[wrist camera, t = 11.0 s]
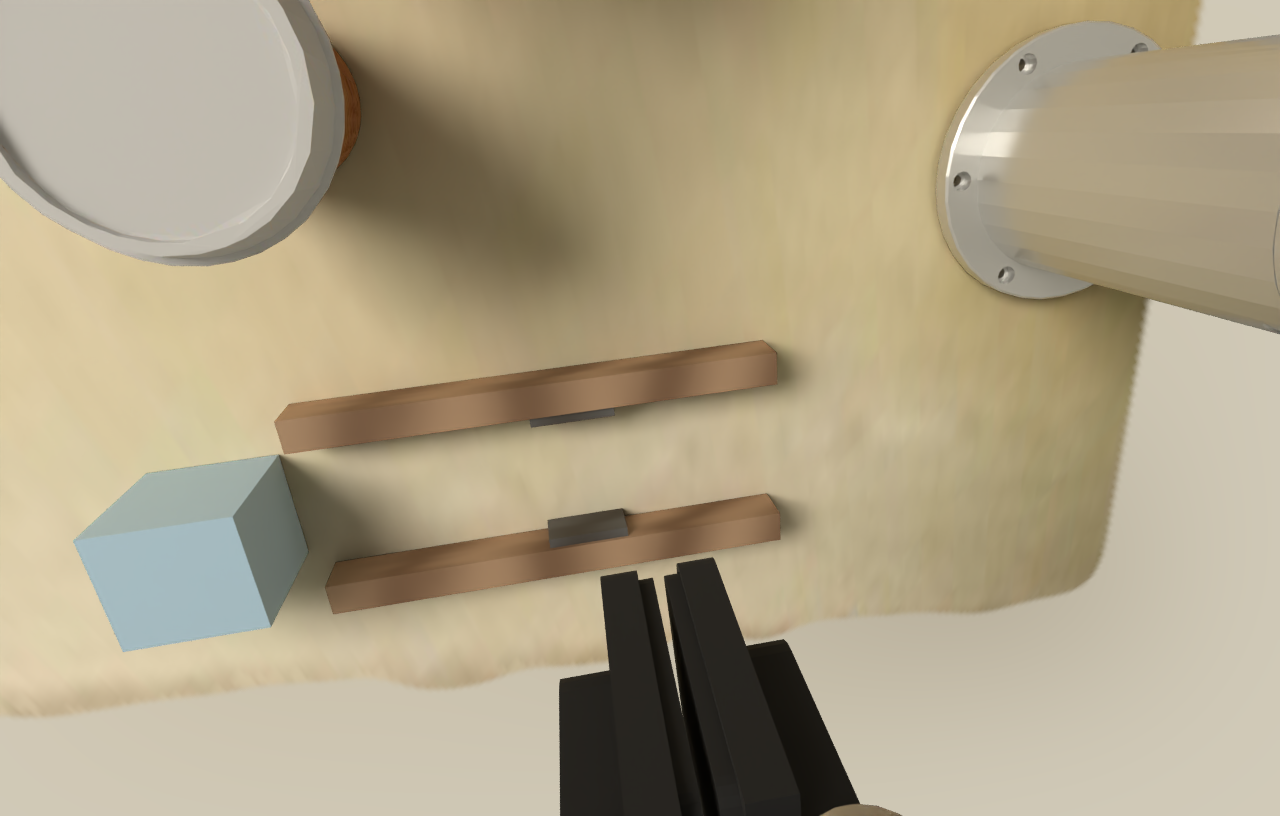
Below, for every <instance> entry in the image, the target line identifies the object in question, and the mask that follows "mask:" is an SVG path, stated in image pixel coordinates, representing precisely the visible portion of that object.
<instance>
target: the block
mask: <svg viewBox="0 0 1280 816" xmlns="http://www.w3.org/2000/svg"><path fill="white" fill-rule="evenodd" d="M73 542H74V544H75V546H76V549H77V551H78V553H79V555H80V557H81V560H82V562H83V564H84V566H85V569H86V571H87V573H88V575H89V577H90V580H91V582H92V584H93V586H94V588H95V591H96V593H97V595H98V597H99V600H100V602H101V604H102V606H103V608H104V611H105V613H106V615H107V617H108V620H109V622H110V624H111V626H112V628H113V631H114V633H115V635H116V637H117V639H118V642H119V644H120V646H121V648H122V651H123V652H126V651H132V650H138V649H144V648H150V647H156V646H162V645H168V644H174V643H180V642H186V641H192V640H198V639H204V638H210V637H216V636H222V635H227V634H233V633H239V632H245V631H251V630H257V629H263V628H269V627H271V626H272V624H273V622H274V620H275V618H276V616H277V614H278V612H279V610H280V608H281V606H282V604H283V602H284V600H285V598H286V596H287V594H288V592H289V590H290V588H291V586H292V584H293V582H294V580H295V578H296V576H297V574H298V572H299V570H300V568H301V566H302V564H303V562H304V560H305V558H306V556H307V554H308V552H309V551H308V548H307V545H306V542H305V538H304V535H303V532H302V529H301V525H300V522H299V519H298V516H297V512H296V509H295V506H294V503H293V500H292V496H291V493H290V490H289V487H288V483H287V480H286V477H285V474H284V471H283V467H282V464H281V461H280V458H279V455H273V456H266V457H259V458H252V459H245V460H238V461H230V462H223V463H216V464H209V465H202V466H195V467H188V468H181V469H174V470H167V471H160V472H153V473H146V474H145V475H144V476H143V477H142V478H141V479H140V480H139V481H137V482H136V483H135V484H134V485H133V486H132V487H131V488H130V489H129V490H128V491H127V492H125V493H124V494H123V495H122V496H121V497H120V498H119V499H118V500H117V501H116V502H115V503H113V504H112V505H111V506H110V507H109V508H108V509H107V510H106V511H105V512H104V513H103V514H102V515H100V516H99V517H98V518H97V519H96V520H95V521H94V522H93V523H92V524H91V525H90V526H88V527H87V528H86V529H85V530H84V531H83V532H82V533H81V534H80V535H79V536H78V537H76V538H75V539H74V540H73Z"/></svg>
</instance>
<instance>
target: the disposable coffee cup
mask: <svg viewBox="0 0 1280 816" xmlns="http://www.w3.org/2000/svg"><path fill="white" fill-rule="evenodd" d="M360 122H361V109H360V99H359V94H358V90H357V86H356V83H355V81H354V79H353V77H352V75H351V73H350V71H349V69H348V67H347V65H346V64H345V62H344V61H343V59H342V58H341V57H340V55H339V54H338V52H337V51H336V50H335V49H334V48H333V47H332V45H331V42H330V39H329V37H328V35H327V33H326V31H325V30H324V28H323V26H322V24H321V22H320V20H319V18H318V16H317V15H316V13H315V11H314V9H313V7H312V5H311V3H310V1H309V0H0V178H1V179H2V180H3V181H4V182H5V183H6V184H7V185H8V186H9V187H10V188H11V189H12V190H13V191H14V192H15V193H17V194H18V195H19V196H20V197H21V198H23V199H24V200H25V201H26V202H28V203H29V204H30V205H31V206H33V207H34V208H35V209H36V210H37V211H39V212H40V213H41V214H42V215H44V216H46V217H48V218H49V219H51V220H53V221H54V222H56V223H58V224H60V225H61V226H63V227H65V228H66V229H68V230H70V231H72V232H74V233H76V234H79V235H81V236H82V237H84V238H86V239H88V240H90V241H92V242H94V243H96V244H98V245H100V246H103V247H105V248H107V249H109V250H112V251H115V252H118V253H121V254H124V255H127V256H130V257H133V258H136V259H139V260H143V261H148V262H154V263H159V264H165V265H170V266H212V265H218V264H224V263H230V262H235V261H238V260H241V259H244V258H247V257H250V256H253V255H255V254H258V253H261V252H263V251H265V250H266V249H268V248H270V247H272V246H273V245H275V244H277V243H278V242H280V241H282V240H283V239H285V238H286V237H288V236H289V235H290V234H291V233H292V232H293V231H295V230H296V229H297V228H298V227H299V226H300V225H302V224H303V223H304V222H305V221H306V220H307V219H308V218H309V216H310V215H311V213H312V212H313V210H314V209H315V207H316V206H317V205H318V203H319V202H320V200H321V199H322V197H323V196H324V194H325V193H326V191H327V190H328V189H329V187H330V184H331V181H332V179H333V176H334V173H335V171H336V169H337V168H338V167H339V166H340V165H341V164H342V163H343V162H344V161H345V160H346V158H347V157H348V156H349V154H350V152H351V150H352V148H353V146H354V145H355V143H356V140H357V136H358V132H359V129H360Z"/></svg>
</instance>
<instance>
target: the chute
mask: <svg viewBox="0 0 1280 816" xmlns="http://www.w3.org/2000/svg"><path fill="white" fill-rule="evenodd" d="M775 384H777V353H776V352H775V351H774V350H773V349H772V348H771V347H770V346H768V345H767V344H766V343H765V342H764V341H763V340H760V341H753V342H745V343H738V344H731V345H723V346H716V347H708V348H701V349H694V350H686V351H679V352H671V353H664V354H657V355H649V356H642V357H634V358H627V359H620V360H612V361H605V362H597V363H590V364H583V365H575V366H568V367H560V368H553V369H545V370H538V371H531V372H523V373H516V374H508V375H501V376H494V377H486V378H479V379H471V380H464V381H457V382H449V383H442V384H434V385H427V386H420V387H412V388H405V389H397V390H390V391H383V392H375V393H368V394H360V395H353V396H346V397H338V398H331V399H323V400H316V401H309V402H301V403H294V404H289V405H288V406H287V407H286V408H285V410H284V411H283V412H282V413H281V414H280V415H279V417H278V418H277V419H276V420H275V421H274V423H275V426H276V429H277V432H278V436H279V439H280V442H281V445H282V449H283V452H284V454H290V453H297V452H304V451H311V450H318V449H325V448H332V447H339V446H346V445H353V444H360V443H367V442H374V441H382V440H389V439H396V438H403V437H410V436H417V435H424V434H431V433H438V432H445V431H452V430H459V429H466V428H473V427H480V426H487V425H494V424H501V423H508V422H515V421H522V420H529V419H530V425H531V428H532V427H539V426H546V425H553V424H559V423H566V422H573V421H580V420H587V419H594V418H601V417H608V416H615V413H614V407H620V406H627V405H634V404H641V403H648V402H655V401H662V400H669V399H677V398H684V397H691V396H698V395H705V394H712V393H719V392H726V391H733V390H740V389H747V388H754V387H761V386H768V385H775ZM774 540H780V513H779V511H778V510H777V508H776V507H775V505H774V504H773V502H772V501H771V499H770V498H769V496H768V495H767V494H761V495H754V496H748V497H742V498H736V499H729V500H723V501H717V502H711V503H704V504H698V505H692V506H685V507H679V508H673V509H667V510H660V511H654V512H648V513H642V514H635V515H629V516H624V513H623V509H622V508H621V509H615V510H609V511H602V512H596V513H590V514H583V515H577V516H571V517H564V518H558V519H552V520H548V529H541V530H535V531H529V532H523V533H516V534H510V535H504V536H497V537H491V538H485V539H479V540H472V541H466V542H460V543H454V544H447V545H441V546H435V547H429V548H422V549H416V550H410V551H403V552H397V553H391V554H385V555H378V556H372V557H366V558H360V559H353V560H347V561H341V562H336V563H335V565H334V568H333V570H332V572H331V575H330V577H329V579H328V582H327V584H326V586H325V589H326V592H327V596H328V599H329V602H330V605H331V609H332V612H333V614H338V613H344V612H350V611H356V610H362V609H368V608H374V607H380V606H386V605H392V604H398V603H404V602H410V601H415V600H421V599H427V598H433V597H439V596H445V595H451V594H457V593H463V592H469V591H475V590H481V589H487V588H493V587H499V586H505V585H511V584H517V583H523V582H529V581H535V580H541V579H547V578H553V577H559V576H565V575H571V574H577V573H583V572H589V571H595V570H601V569H607V568H613V567H619V566H625V565H631V564H637V563H643V562H649V561H655V560H661V559H667V558H673V557H679V556H685V555H691V554H697V553H702V552H708V551H714V550H720V549H726V548H732V547H738V546H744V545H750V544H756V543H762V542H768V541H774Z"/></svg>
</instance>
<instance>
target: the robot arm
mask: <svg viewBox="0 0 1280 816" xmlns="http://www.w3.org/2000/svg"><path fill="white" fill-rule="evenodd" d="M954 178H956V180H955V183H954V184H953V182H954ZM936 200H937V214H938V217H939V221H940V225H941V229H942V233H943V236H944V238H945V240H946V242H947V244H948V246H949V248H950V250H951V252H952V254H953V256H954V257H955V258H956V260H957V261H958V262H959V263H960V265H961V266H962V267H963V268H964V269H965V271H966V272H967V273H969V274H970V275H971V276H973V277H974V278H975V279H977V280H978V281H979V282H981V283H982V284H984V285H986V286H988V287H990V288H993V289H995V290H997V291H1000V292H1002V293H1006V294H1009V295H1013V296H1016V297H1020V298H1031V299H1047V298H1055V297H1062V296H1066V295H1069V294H1072V293H1075V292H1078V291H1081V290H1084V289H1086V288H1088V287H1090V286H1092V285H1094V284H1096V285H1100V286H1104V287H1107V288H1111V289H1115V290H1119V291H1122V292H1126V293H1130V294H1133V295H1137V296H1141V297H1145V298H1148V299H1152V300H1156V301H1159V302H1163V303H1167V304H1171V305H1174V306H1178V307H1182V308H1185V309H1189V310H1193V311H1196V312H1200V313H1204V314H1207V315H1212V316H1215V317H1218V318H1222V319H1226V320H1230V321H1233V322H1237V323H1241V324H1244V325H1248V326H1252V327H1255V328H1259V329H1263V330H1266V331H1270V332H1274V333H1277V334H1280V35H1272V36H1264V37H1257V38H1248V39H1240V40H1232V41H1224V42H1216V43H1208V44H1200V45H1192V46H1184V47H1176V48H1168V49H1161V48H1160V47H1159V45H1158V44H1157V43H1156V42H1155V41H1154V40H1153V39H1151V38H1149V37H1148V36H1146V35H1144V34H1143V33H1141V32H1139V31H1138V30H1136V29H1134V28H1132V27H1129V26H1125V25H1122V24H1118V23H1115V22H1110V21H1083V22H1078V23H1072V24H1066V25H1061V26H1058V27H1055V28H1052V29H1048V30H1045V31H1042V32H1039V33H1037V34H1035V35H1033V36H1031V37H1029V38H1028V39H1026V40H1024V41H1022V42H1020V43H1018V44H1017V45H1015V46H1013V47H1012V48H1011V49H1010V50H1008V51H1007V52H1006V53H1005V54H1003V55H1002V56H1001V57H1000V58H998V59H997V60H996V61H995V62H993V63H992V64H991V65H990V67H989V68H988V69H987V70H986V71H985V72H984V73H983V74H982V76H981V77H980V78H979V79H978V80H977V81H976V82H975V83H974V84H973V86H972V87H971V89H970V90H969V92H968V94H967V95H966V97H965V98H964V100H963V101H962V103H961V104H960V106H959V108H958V109H957V111H956V113H955V116H954V118H953V120H952V122H951V125H950V127H949V129H948V131H947V134H946V136H945V140H944V143H943V147H942V151H941V154H940V158H939V162H938V171H937V181H936ZM600 579H601V589H602V599H603V609H604V619H605V629H606V639H607V649H608V659H609V669H610V670H609V671H604V672H598V673H593V674H587V675H581V676H576V677H570V678H565V679H560V685H559V725H560V728H559V729H560V816H902V815H900V814H898V813H896V812H893V811H890V810H887V809H884V808H882V807H879V806H873V805H863V804H860V803H859V800H858V798H857V796H856V794H855V791H854V789H853V787H852V785H851V782H850V780H849V778H848V776H847V773H846V771H845V769H844V767H843V765H842V763H841V760H840V758H839V756H838V753H837V751H836V749H835V747H834V744H833V742H832V740H831V738H830V736H829V733H828V731H827V729H826V727H825V724H824V722H823V720H822V718H821V715H820V713H819V711H818V709H817V707H816V704H815V702H814V700H813V698H812V695H811V693H810V691H809V689H808V686H807V684H806V682H805V680H804V678H803V675H802V673H801V671H800V669H799V666H798V664H797V662H796V660H795V657H794V655H793V653H792V651H791V649H790V647H789V645H788V643H787V642H786V641H785V640H784V639H783V640H777V641H771V642H766V643H761V644H754V645H749V646H746V644H745V641H744V639H743V636H742V633H741V631H740V628H739V625H738V622H737V620H736V617H735V614H734V611H733V609H732V606H731V603H730V600H729V598H728V595H727V592H726V590H725V587H724V584H723V581H722V579H721V576H720V573H719V570H718V568H717V565H716V562H715V560H714V558H713V557H712V558H706V559H700V560H694V561H689V562H683V563H677V574H672V575H667V576H664V581H665V588H666V596H667V603H668V611H669V618H670V626H671V633H672V640H673V648H674V655H675V663H676V670H677V677H678V684H679V692H680V700H681V706H682V711H681V706H680V702H679V697H678V693H677V688H676V683H675V678H674V674H673V669H672V664H671V660H670V655H669V651H668V646H667V641H666V637H665V632H664V627H663V623H662V618H661V613H660V609H659V604H658V600H657V595H656V590H655V586H654V581H653V578H649V579H643V580H638V575H637V570H636V571H630V572H624V573H619V574H613V575H607V576H601V577H600ZM682 714H683V715H682Z"/></svg>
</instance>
